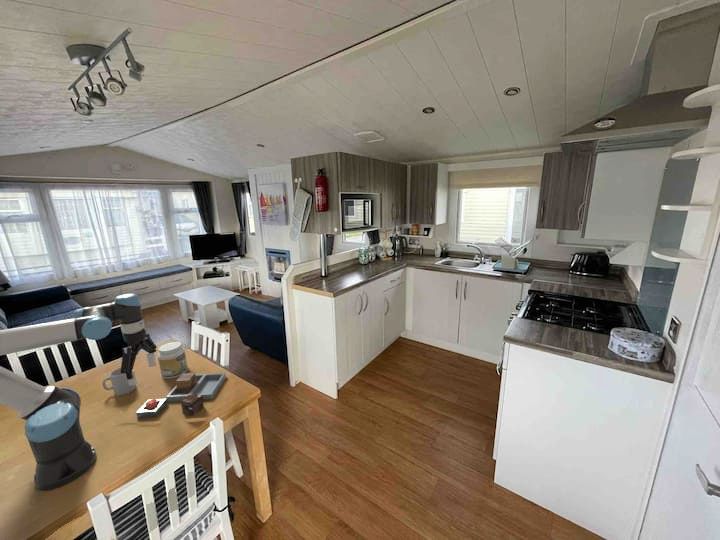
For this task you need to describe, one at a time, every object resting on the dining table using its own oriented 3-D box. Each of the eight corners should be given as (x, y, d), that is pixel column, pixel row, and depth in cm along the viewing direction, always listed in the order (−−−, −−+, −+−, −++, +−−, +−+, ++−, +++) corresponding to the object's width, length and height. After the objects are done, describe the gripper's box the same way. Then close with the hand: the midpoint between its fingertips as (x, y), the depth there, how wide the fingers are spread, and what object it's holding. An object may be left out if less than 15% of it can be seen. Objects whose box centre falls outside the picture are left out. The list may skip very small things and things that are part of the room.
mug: (137, 382, 145) (133, 364, 143) (135, 391, 138) (130, 372, 136) (107, 391, 139) (102, 371, 136) (103, 400, 132) (98, 381, 129)
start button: (154, 412, 122) (153, 405, 121) (145, 413, 122) (143, 405, 121) (160, 406, 126) (158, 398, 125) (151, 407, 125) (149, 399, 125)
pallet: (212, 401, 131) (211, 394, 130) (166, 403, 130) (165, 397, 129) (226, 378, 148) (225, 372, 147) (186, 381, 146) (184, 375, 145)
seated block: (191, 392, 135) (188, 380, 134) (178, 393, 135) (175, 381, 133) (197, 384, 141) (195, 372, 139) (184, 385, 141) (182, 373, 139)
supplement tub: (185, 377, 149) (180, 349, 145) (159, 382, 145) (153, 354, 141) (190, 365, 160) (185, 339, 156) (165, 370, 156) (159, 343, 152)
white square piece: (157, 418, 120) (155, 411, 120) (137, 420, 120) (136, 412, 119) (168, 405, 128) (166, 398, 127) (150, 407, 128) (148, 399, 127)
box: (182, 415, 123) (180, 401, 121) (194, 406, 128) (191, 392, 126) (193, 418, 121) (190, 404, 119) (204, 408, 126) (202, 394, 125)
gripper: (123, 344, 104) (134, 392, 109) (160, 317, 128) (168, 358, 133) (101, 345, 103) (113, 394, 108) (142, 318, 127) (151, 360, 132)
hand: (143, 374), depth 120 cm, fingers open, 13 cm apart
